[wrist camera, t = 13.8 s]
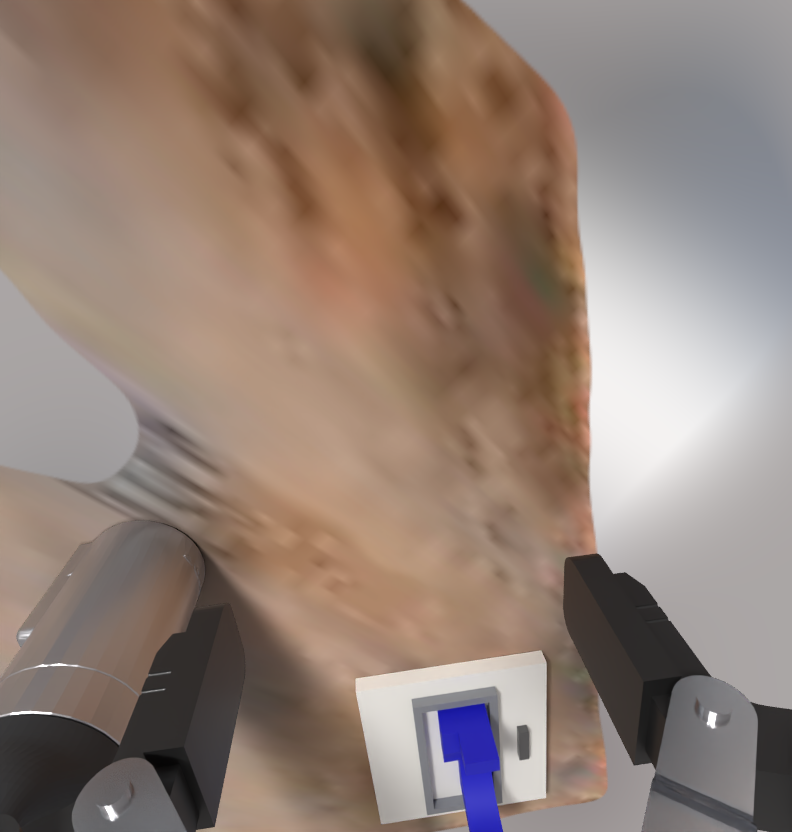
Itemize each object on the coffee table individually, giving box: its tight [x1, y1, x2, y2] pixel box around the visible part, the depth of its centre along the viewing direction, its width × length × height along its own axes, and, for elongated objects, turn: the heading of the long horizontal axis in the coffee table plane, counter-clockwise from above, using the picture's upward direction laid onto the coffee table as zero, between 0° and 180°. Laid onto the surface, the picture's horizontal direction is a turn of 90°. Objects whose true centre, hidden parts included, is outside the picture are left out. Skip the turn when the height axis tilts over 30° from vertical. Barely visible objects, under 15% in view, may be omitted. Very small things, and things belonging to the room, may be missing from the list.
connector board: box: [356, 650, 547, 825], centre depth 56 cm, size 18×20×2 cm
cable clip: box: [437, 703, 503, 832], centre depth 52 cm, size 12×4×6 cm, turn 7°
